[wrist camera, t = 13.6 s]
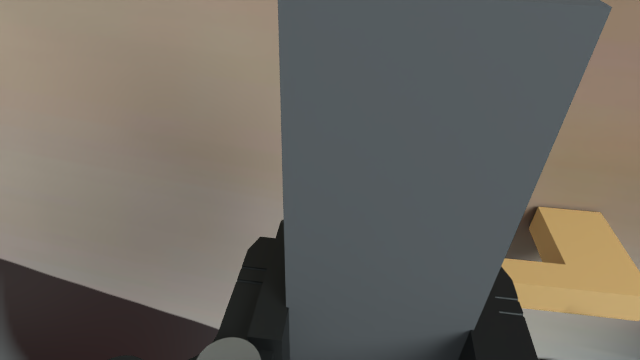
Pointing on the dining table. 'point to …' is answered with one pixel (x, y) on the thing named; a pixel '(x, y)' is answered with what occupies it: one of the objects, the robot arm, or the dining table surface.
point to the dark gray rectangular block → (414, 160)
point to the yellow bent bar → (576, 267)
